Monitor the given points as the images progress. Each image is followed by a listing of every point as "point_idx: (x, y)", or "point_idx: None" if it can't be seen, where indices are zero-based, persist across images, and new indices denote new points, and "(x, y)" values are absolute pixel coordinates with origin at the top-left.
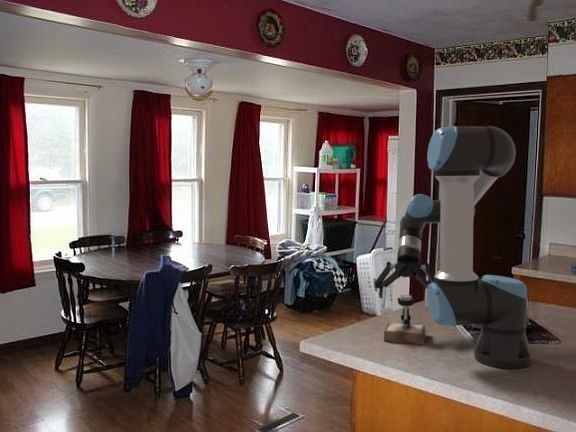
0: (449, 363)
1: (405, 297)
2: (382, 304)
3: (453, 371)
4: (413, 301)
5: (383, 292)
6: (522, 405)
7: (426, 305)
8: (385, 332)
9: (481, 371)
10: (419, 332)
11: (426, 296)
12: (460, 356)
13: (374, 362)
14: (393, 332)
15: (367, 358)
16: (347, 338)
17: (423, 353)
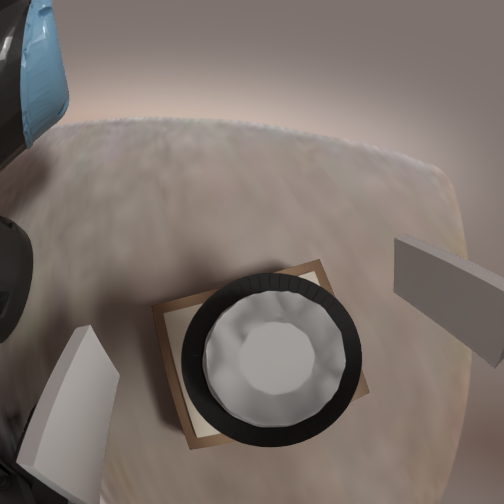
0: (82, 197)
1: (256, 295)
2: (400, 238)
3: (80, 165)
4: (184, 345)
5: (477, 268)
6: None
7: (83, 331)
8: (313, 262)
9: (36, 194)
10: (172, 315)
11: (58, 390)
12: (58, 256)
13: (245, 124)
14: (281, 270)
15: (272, 134)
16: None
17: (145, 227)
